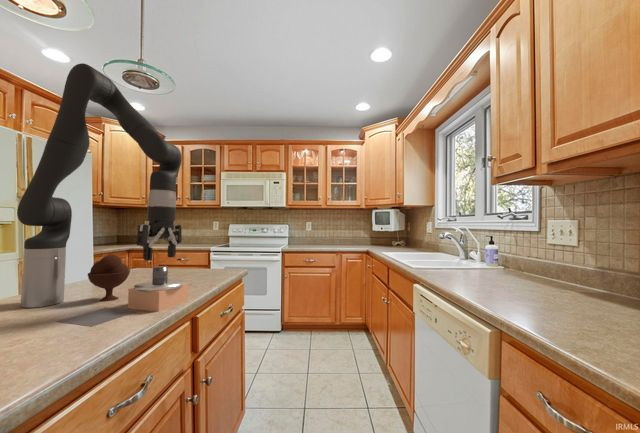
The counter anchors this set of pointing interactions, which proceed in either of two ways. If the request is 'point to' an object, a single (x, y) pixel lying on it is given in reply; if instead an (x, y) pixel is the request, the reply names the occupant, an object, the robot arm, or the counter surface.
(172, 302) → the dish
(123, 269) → the ice cream bowl
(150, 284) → the lid
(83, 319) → the mat
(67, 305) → the counter surface
